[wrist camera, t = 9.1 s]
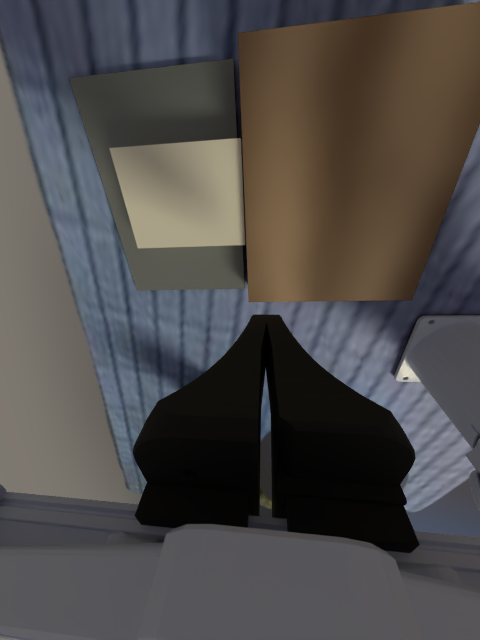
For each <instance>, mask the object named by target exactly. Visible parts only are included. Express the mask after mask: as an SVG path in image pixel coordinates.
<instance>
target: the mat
mask: <svg viewBox="0 0 480 640" xmlns="http://www.w3.org/2000/svg"><path fill="white" fill-rule="evenodd" d="M69 80H70V84H71V87H72V90H73V93H74V96H75V99H76V102H77V105H78V108H79V111H80V115H81V118H82V121H83V124H84V127H85V130H86V133H87V136H88V139H89V143H90V146H91V149H92V152H93V155H94V158H95V161H96V164H97V167H98V170H99V174H100V177H101V180H102V183H103V186H104V189H105V192H106V195H107V198H108V202H109V205H110V208H111V211H112V214H113V217H114V220H115V223H116V226H117V229H118V233H119V236H120V239H121V242H122V245H123V248H124V251H125V254H126V257H127V261H128V264H129V267H130V270H131V273H132V276H133V279H134V282H135V285H136V288H137V290H183V289H240V288H245V280H244V259H243V245H230V246H199V247H168V248H138V247H137V244H136V240H135V237H134V233H133V230H132V226H131V223H130V219H129V216H128V212H127V209H126V205H125V202H124V198H123V195H122V191H121V187H120V184H119V180H118V177H117V173H116V170H115V166H114V163H113V159H112V156H111V152H110V149H109V148H117V147H130V146H143V145H156V144H169V143H182V142H195V141H208V140H221V139H234V138H238V136H237V115H236V94H235V74H234V60H233V59H226V60H217V61H209V62H200V63H192V64H183V65H175V66H166V67H158V68H149V69H141V70H132V71H124V72H115V73H107V74H99V75H90V76H82V77H73V78H69Z"/></svg>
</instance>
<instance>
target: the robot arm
mask: <svg viewBox="0 0 480 640" xmlns="http://www.w3.org/2000/svg"><path fill="white" fill-rule="evenodd" d="M431 320H432V321H431ZM429 321H431V322H429ZM265 368H266V373H267V382H268V391H269V400H270V411H271V454H272V455H271V459H272V517H263V516H259V507H260V435H261V405H262V396H263V387H264V377H265ZM394 378H395V380H396V381H405V382H422V384H423V385H424V386H425V388H426V389H427V390H428V391H429V393H430V394H431V395H432V397H433V398H434V399H435V401H436V402H437V403H438V404H439V406H440V407H441V408H442V410H443V411H444V412H445V414H446V415H447V416H448V417H449V419H450V420H451V421H452V423H453V424H454V425H455V427H456V428H457V429H458V430H459V432H460V433H461V434H462V436H463V437H464V438H465V440H466V441H467V442H468V443H469V445H470V446H471V447H472V449H473V450H471V451H470V452H468V453H466V456H467V458H468V459H469V461H470V462H471V463H472V465H473V466H474V467H475V469H476V470H474V471H472V472H471V474H470V477H469V481H470V486H471V489H472V495H473V498H474V500H475V503H476V505H477V507H478V509H479V511H480V315H437V316H422V317H420V318H419V319H418V320H417V322H416V325H415V327H414V330H413V332H412V334H411V337H410V339H409V341H408V344H407V346H406V349H405V351H404V353H403V356H402V358H401V360H400V363H399V365H398V368H397V370H396V372H395V375H394ZM133 455H134V458H135V461H136V463H137V465H138V466H139V468H140V470H141V472H142V474H143V475H144V477H145V479H146V481H147V484H146V487H145V489H144V492H143V495H142V497H141V500H140V502H139V504H128V503H117V502H107V501H97V500H86V499H76V498H65V497H56V496H45V495H35V494H23V493H13V492H6V489H5V488H4V487H3V486H2V485H0V637H1V638H6V639H12V640H480V537H470V536H460V535H450V534H440V533H429V532H419V531H414V529H413V527H412V525H411V522H410V520H409V518H408V515H407V513H406V510H405V508H404V506H403V505H406V503H407V501H406V497H405V495H404V493H403V490H402V488H401V486H400V484H401V482H402V481H403V479H404V478H405V476H406V475H407V473H408V472H409V471H410V469H411V467H412V466H413V463H414V461H415V451H414V449H413V447H412V445H411V443H410V441H409V440H408V438H407V436H406V434H405V432H404V431H403V429H402V427H401V426H400V424H399V423H398V422H397V420H396V419H395V417H394V416H393V414H392V412H391V411H389V410H387V409H385V408H384V407H382V406H380V405H378V404H376V403H375V402H373V401H371V400H369V399H367V398H366V397H364V396H362V395H360V394H359V393H357V392H356V391H354V390H353V389H351V388H350V387H348V386H347V385H345V384H344V383H342V382H341V381H339V380H338V379H337V378H335V377H334V376H333V375H331V374H330V373H329V372H327V371H326V370H325V369H324V368H322V367H321V366H320V365H319V364H318V363H317V362H316V361H315V360H314V359H313V358H312V357H311V356H310V355H309V354H308V353H307V352H306V351H305V350H304V349H303V348H302V347H301V345H300V344H299V343H298V342H297V340H296V339H295V338H294V336H293V335H292V334H291V332H290V331H289V329H288V328H287V326H286V325H285V323H284V321H283V320H282V318H281V316H280V315H253V316H252V317H251V319H250V321H249V323H248V325H247V326H246V328H245V329H244V331H243V332H242V334H241V335H240V337H239V338H238V339H237V341H236V342H235V343H234V344H233V346H232V347H231V348H230V349H229V350H228V351H227V353H226V354H225V355H224V356H223V357H222V358H221V359H220V360H219V361H218V362H217V363H215V364H214V365H213V366H212V367H211V368H210V369H209V370H207V371H206V372H205V373H204V374H202V375H201V376H199V377H198V378H197V379H195V380H194V381H192V382H191V383H189V384H188V385H186V386H184V387H183V388H181V389H179V390H178V391H176V392H174V393H172V394H170V395H169V396H167V397H165V398H163V399H161V400H159V401H158V402H157V404H156V406H155V407H154V409H153V410H152V412H151V413H150V415H149V417H148V418H147V420H146V422H145V424H144V426H143V428H142V430H141V432H140V434H139V437H138V439H137V441H136V443H135V445H134V448H133Z"/></svg>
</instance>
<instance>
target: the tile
mask: <svg viewBox="0 0 480 640" xmlns="http://www.w3.org/2000/svg"><path fill="white" fill-rule="evenodd" d="M109 149H110V152H111V156H112V159H113V163H114V166H115V170H116V173H117V177H118V180H119V184H120V187H121V191H122V195H123V198H124V202H125V205H126V209H127V212H128V216H129V219H130V223H131V226H132V230H133V233H134V237H135V240H136V244H137V247H138V248H168V247H199V246H230V245H245V243H246V222H245V197H244V173H243V148H242V139H241V138H234V139H221V140H208V141H195V142H182V143H169V144H156V145H143V146H130V147H117V148H109Z"/></svg>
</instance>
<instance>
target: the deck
mask: <svg viewBox="0 0 480 640" xmlns="http://www.w3.org/2000/svg"><path fill="white" fill-rule="evenodd" d="M238 49H239V74H240V98H241V123H242V148H243V173H244V197H245V222H246V247H247V272H248V296H249V302H300V301H387V300H412V299H413V296H414V293H415V291H416V288H417V286H418V283H419V280H420V278H421V275H422V273H423V270H424V267H425V265H426V262H427V260H428V257H429V254H430V252H431V249H432V247H433V244H434V241H435V239H436V236H437V234H438V231H439V228H440V226H441V223H442V221H443V218H444V215H445V213H446V210H447V207H448V205H449V202H450V200H451V197H452V194H453V192H454V189H455V187H456V184H457V181H458V179H459V176H460V174H461V171H462V168H463V166H464V163H465V161H466V158H467V155H468V153H469V150H470V148H471V145H472V142H473V140H474V137H475V135H476V132H477V129H478V127H479V124H480V2H476V3H468V4H460V5H452V6H445V7H437V8H429V9H421V10H414V11H406V12H398V13H390V14H383V15H375V16H367V17H359V18H352V19H344V20H336V21H328V22H321V23H313V24H305V25H297V26H290V27H282V28H274V29H266V30H259V31H251V32H243V33H238Z"/></svg>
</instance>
